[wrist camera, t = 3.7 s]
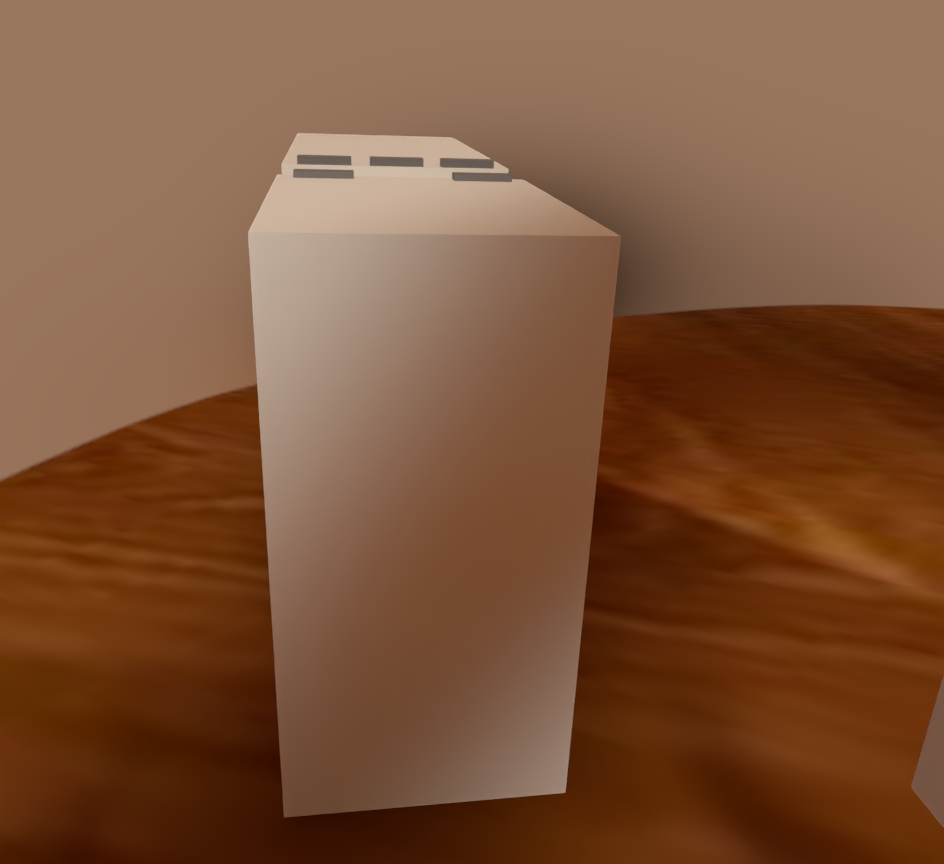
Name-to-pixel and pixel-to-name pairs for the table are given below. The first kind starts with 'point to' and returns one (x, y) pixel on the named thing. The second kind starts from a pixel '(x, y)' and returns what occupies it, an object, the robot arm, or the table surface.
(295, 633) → the stub
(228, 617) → the table surface
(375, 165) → the white slotted block
